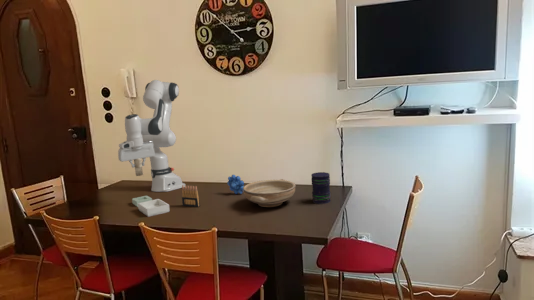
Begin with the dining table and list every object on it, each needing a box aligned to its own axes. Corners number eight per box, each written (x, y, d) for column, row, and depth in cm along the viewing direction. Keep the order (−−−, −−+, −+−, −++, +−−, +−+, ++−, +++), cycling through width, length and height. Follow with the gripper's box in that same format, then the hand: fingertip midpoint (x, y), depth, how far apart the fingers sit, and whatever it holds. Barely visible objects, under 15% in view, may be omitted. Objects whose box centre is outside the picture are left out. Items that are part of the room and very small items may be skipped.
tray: (159, 205, 239) (158, 198, 238) (169, 211, 226) (169, 204, 225) (138, 210, 233) (137, 203, 232) (148, 216, 219) (147, 209, 219)
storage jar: (333, 199, 229) (332, 172, 226) (327, 204, 220) (326, 176, 218) (315, 198, 233) (314, 171, 231) (310, 203, 224) (308, 176, 222)
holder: (147, 200, 252) (147, 195, 251) (152, 203, 245) (151, 198, 244) (132, 203, 247) (132, 198, 247) (137, 206, 240) (136, 201, 239)
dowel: (141, 173, 246) (139, 157, 244) (143, 175, 243) (141, 158, 241) (134, 175, 244) (132, 158, 242) (137, 176, 240) (134, 159, 239)
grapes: (224, 195, 251) (223, 175, 249) (230, 192, 257) (228, 173, 255) (241, 196, 246) (240, 176, 244) (247, 193, 252) (245, 174, 250)
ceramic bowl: (261, 193, 251) (260, 176, 249) (306, 195, 239) (305, 178, 238) (231, 212, 218) (229, 193, 216) (281, 216, 206) (280, 196, 204)
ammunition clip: (200, 206, 232) (198, 185, 230) (198, 207, 231) (196, 186, 229) (184, 204, 237) (182, 184, 235) (182, 205, 235) (180, 185, 233)
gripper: (151, 139, 248) (153, 162, 250) (115, 145, 237) (119, 168, 239) (154, 140, 243) (157, 164, 245) (118, 146, 232) (122, 170, 234)
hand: (138, 166), depth 242 cm, fingers closed on dowel, 4 cm apart
